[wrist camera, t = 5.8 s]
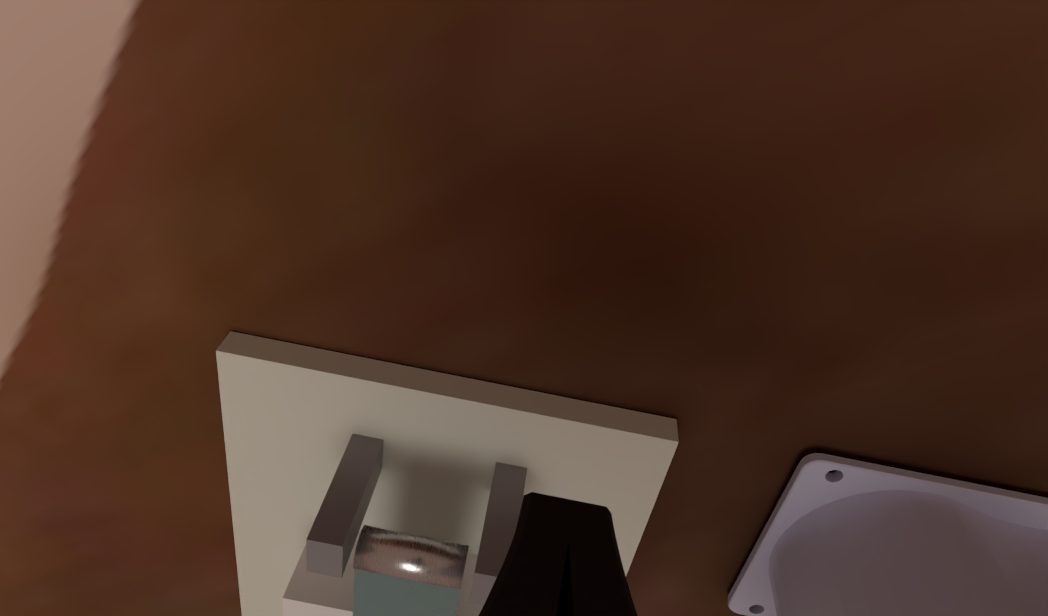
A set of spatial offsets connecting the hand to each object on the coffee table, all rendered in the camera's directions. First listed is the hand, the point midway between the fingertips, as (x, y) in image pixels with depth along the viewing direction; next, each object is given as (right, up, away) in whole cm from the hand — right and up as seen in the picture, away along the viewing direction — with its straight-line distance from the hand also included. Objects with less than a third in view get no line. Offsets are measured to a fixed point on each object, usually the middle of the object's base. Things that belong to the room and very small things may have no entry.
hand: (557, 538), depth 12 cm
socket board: (-4, -7, +17) cm, 19 cm away
